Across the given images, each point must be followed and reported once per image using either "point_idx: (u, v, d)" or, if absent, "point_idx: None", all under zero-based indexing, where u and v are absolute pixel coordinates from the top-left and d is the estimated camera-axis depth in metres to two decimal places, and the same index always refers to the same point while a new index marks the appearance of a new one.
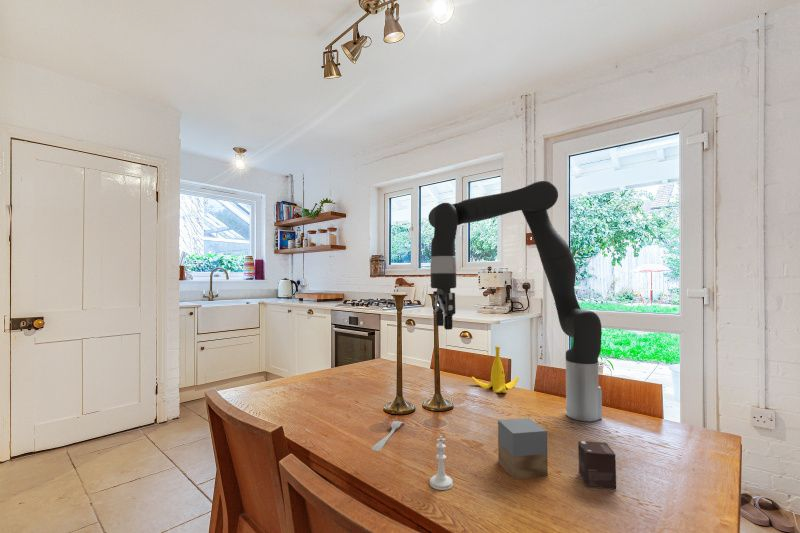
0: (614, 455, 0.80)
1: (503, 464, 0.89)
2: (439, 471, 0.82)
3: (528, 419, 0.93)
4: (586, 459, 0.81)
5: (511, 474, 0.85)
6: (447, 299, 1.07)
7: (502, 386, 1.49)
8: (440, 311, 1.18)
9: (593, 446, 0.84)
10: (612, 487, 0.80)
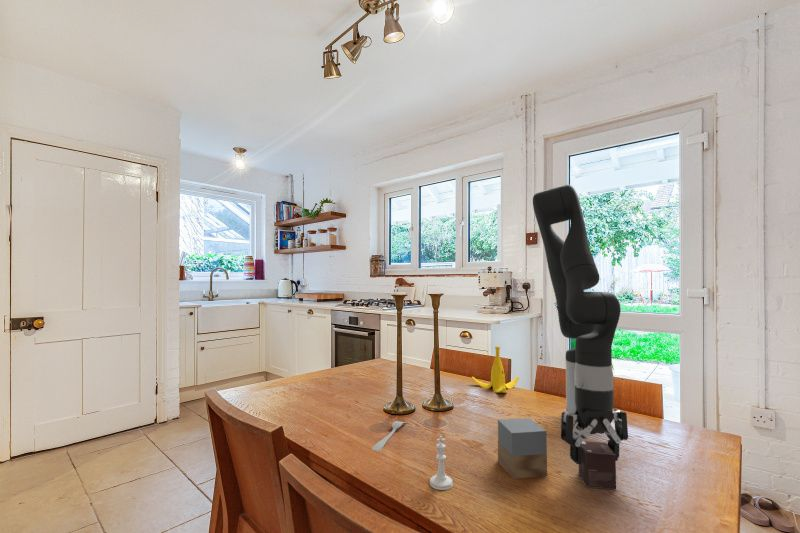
0: (614, 455, 0.80)
1: (503, 464, 0.89)
2: (439, 471, 0.82)
3: (528, 419, 0.93)
4: (586, 459, 0.81)
5: (510, 474, 0.86)
6: None
7: (502, 386, 1.49)
8: None
9: (593, 446, 0.84)
10: (612, 487, 0.80)
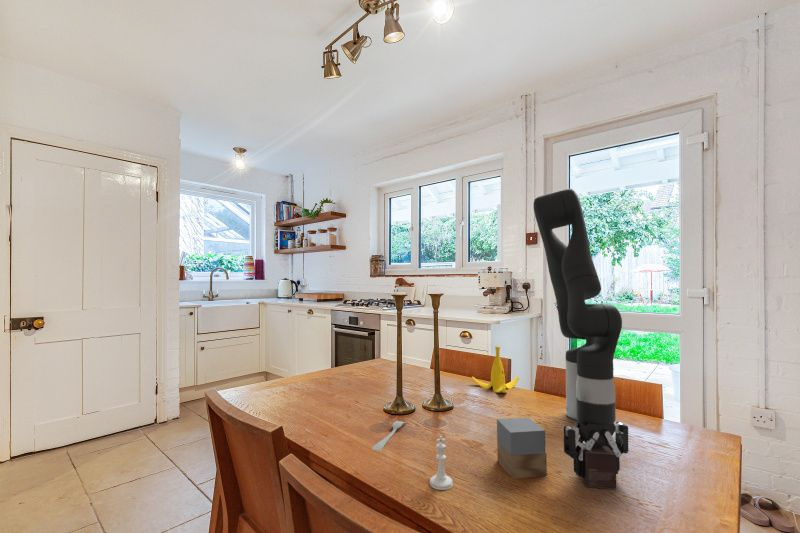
0: (614, 455, 0.80)
1: (502, 464, 0.90)
2: (439, 471, 0.82)
3: (527, 419, 0.93)
4: (587, 459, 0.81)
5: (510, 474, 0.86)
6: None
7: (502, 386, 1.49)
8: None
9: None
10: (612, 487, 0.80)
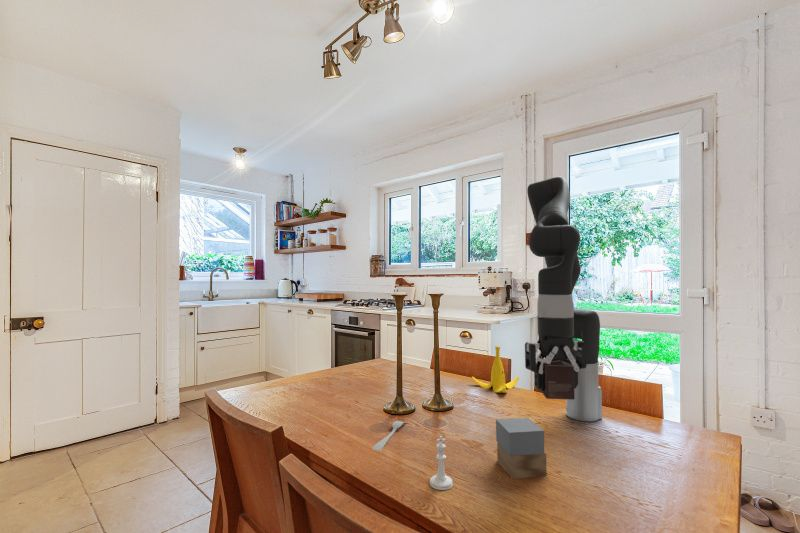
0: (572, 367, 0.83)
1: (502, 464, 0.90)
2: (439, 471, 0.82)
3: (526, 419, 0.93)
4: (546, 372, 0.84)
5: (510, 474, 0.86)
6: None
7: (502, 386, 1.49)
8: None
9: (553, 362, 0.87)
10: (570, 397, 0.83)
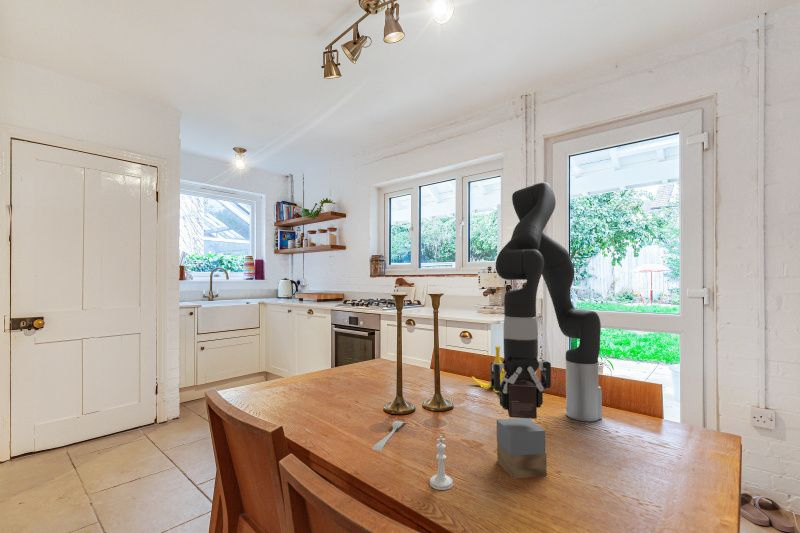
0: (535, 387, 0.86)
1: (502, 464, 0.89)
2: (439, 471, 0.82)
3: (527, 419, 0.93)
4: (510, 391, 0.87)
5: (510, 474, 0.86)
6: None
7: None
8: None
9: (518, 381, 0.90)
10: (533, 417, 0.86)
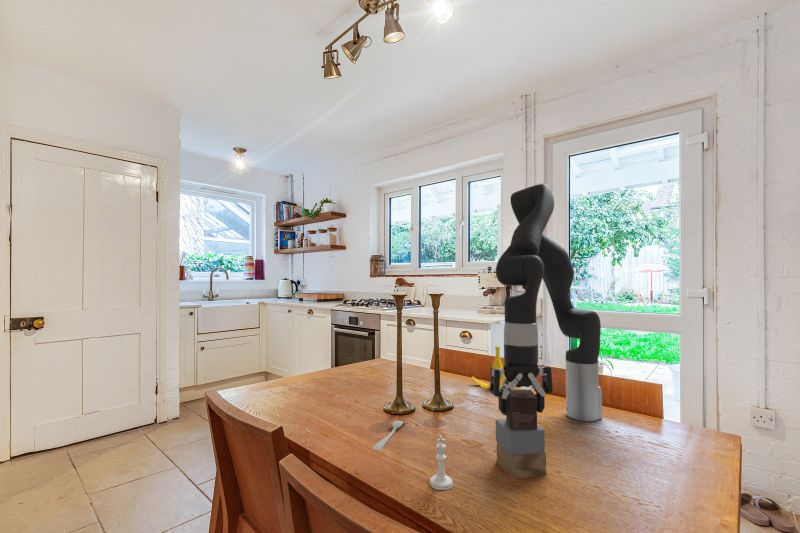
0: (535, 398, 0.86)
1: (502, 464, 0.89)
2: (439, 471, 0.82)
3: None
4: (511, 403, 0.87)
5: (510, 474, 0.86)
6: None
7: None
8: None
9: (518, 392, 0.90)
10: (533, 428, 0.86)
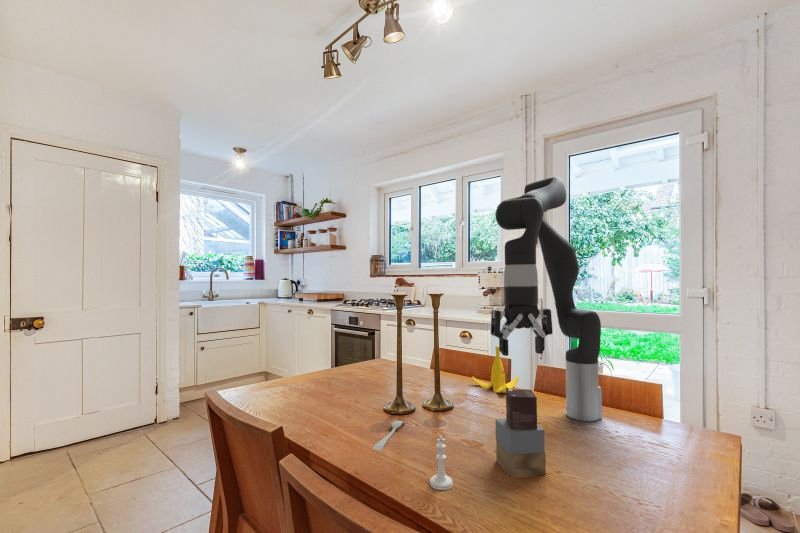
0: (535, 398, 0.86)
1: (502, 464, 0.90)
2: (439, 471, 0.82)
3: None
4: (511, 403, 0.87)
5: (510, 473, 0.86)
6: (550, 316, 0.91)
7: (502, 386, 1.49)
8: None
9: (518, 392, 0.90)
10: (533, 427, 0.86)
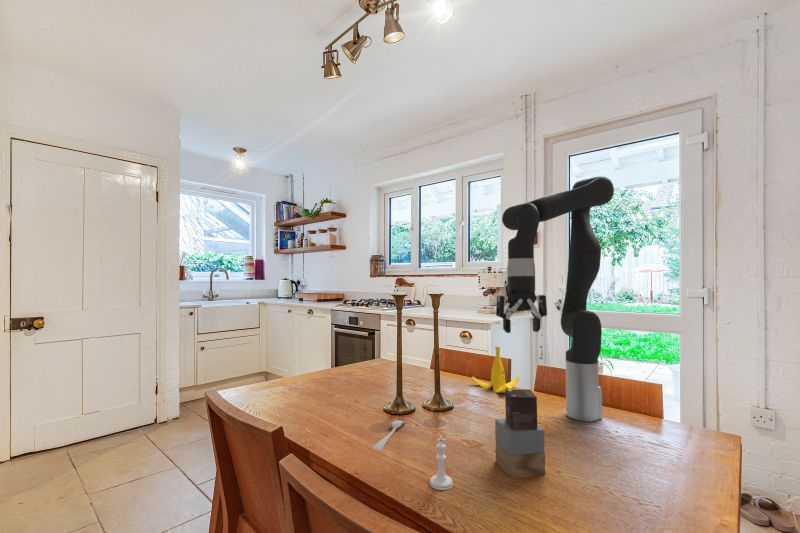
0: (535, 398, 0.87)
1: (501, 464, 0.90)
2: (439, 471, 0.82)
3: None
4: (511, 403, 0.87)
5: (509, 474, 0.86)
6: None
7: (502, 386, 1.49)
8: None
9: (518, 392, 0.90)
10: (534, 427, 0.86)
